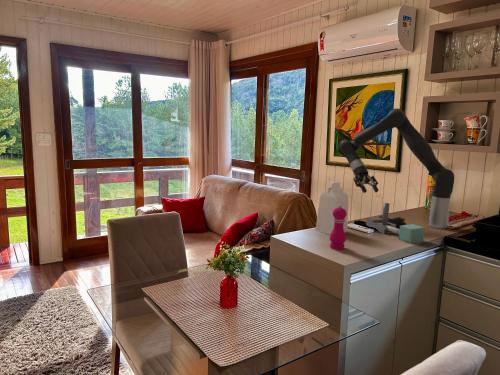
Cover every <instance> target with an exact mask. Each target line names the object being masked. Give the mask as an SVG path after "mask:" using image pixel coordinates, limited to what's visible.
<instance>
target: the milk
mask: <svg viewBox="0 0 500 375" xmlns="http://www.w3.org/2000/svg"><path fill="white" fill-rule="evenodd" d="M318 200H319V201H318V207H317V215H316V223H315V231H316V232H320V233H324V234H326V235H330V234H331V232H332V230H333V228H334V221H333V220H334V219H333V218H334V216H333V210H334V209H335V208H338V205H339V204H341V205H342V208H343V209H345V210H346V217H345V218H344V219H345V222H344V224H343V229H344V233H347V232H348V225H349V224H348V220H349V219H348V218H349V197H348V194H347V193H346V192H345V191H344V189H343V188H342V187H341V183H340V182H339V181H331V182H330V183H329V186H328V188H327V189H326V190H325V191H324V192H322V193H321V194H320V196H319V199H318Z"/></svg>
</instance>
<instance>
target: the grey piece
mask: <svg viewBox="0 0 500 375" xmlns="http://www.w3.org/2000/svg"><path fill="white" fill-rule="evenodd" d="M389 214H390V203H389V202H383V205H382V215H381V216H382V223H381V224H384V225H387V226H388V218H389ZM378 223H379V222H378ZM387 230H388V231H391V232H394V233H393V234H397V235H399V232H400V229H398V228H395V227H392V226H388V227H387Z"/></svg>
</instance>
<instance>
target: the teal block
mask: <svg viewBox="0 0 500 375" xmlns="http://www.w3.org/2000/svg"><path fill="white" fill-rule="evenodd" d="M425 230H426V228H425V227H424V226H421V225H417V224H414V223H411V224H406V225H402V226H400V232H399V234H398V240H399V241H401V242H405V243H407V244H416V243H422V242H424V240H425V239H424V237H425Z"/></svg>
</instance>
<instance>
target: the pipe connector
mask: <svg viewBox="0 0 500 375" xmlns="http://www.w3.org/2000/svg"><path fill="white" fill-rule="evenodd" d="M378 217H379V218H382V215H380V216H378ZM405 221H406V220H405V218H403V217H401V216H398V217H394V218H390V217H388V222H389V223H392V224H396V228H398V229H400V226H402V225H407V222H405Z"/></svg>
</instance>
